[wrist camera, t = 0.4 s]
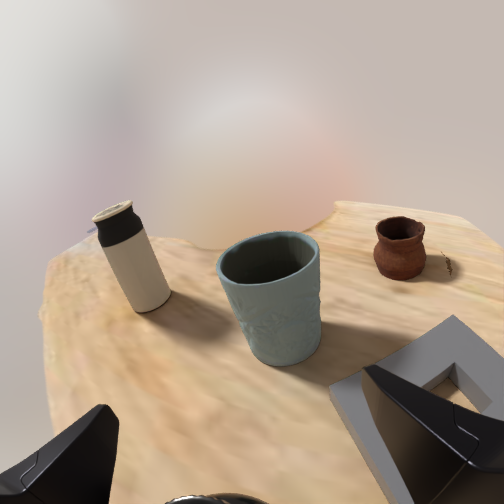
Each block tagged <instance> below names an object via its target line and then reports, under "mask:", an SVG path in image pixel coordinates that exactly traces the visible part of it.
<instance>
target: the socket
mask: <svg viewBox="0 0 504 504" xmlns="http://www.w3.org/2000/svg"><path fill="white" fill-rule="evenodd" d="M375 364H376V365H378V366H380V367H382V368H384V369H386V370H388V371H390V372H392V373H393V374H395V375H397V376H399V377H401V378H403V379H405V380H407V381H409V382H411V383H413V384H415V385H417V386H419V387H421V388H424V389H426V390H428V391H430V390H432V389H433V388H434V387H436V386H437V385H438V384H440V383H441V382H442V381H444V380H445V379H446V378H447V377H449V378H450V380H451V381H452V382H453V383H454V384H455V385H456V386H457V387H458V388H459V389H460V390H461V392H462V393H463V394H464V395H465V396H466V397H467V398H468V399H469V400H470V402H471V403H472V404H473V405H474V406H475V407H476V408H477V410H478V411H479V412H480V413H481V414H482V415H485V416H488V417H492V418H495V419H499V420H503V421H504V358H503V357H501V356H500V355H499V354H498V353H497V352H496V351H495V350H494V349H493V348H492V347H491V346H489V345H488V344H487V343H486V342H485V341H484V340H483V339H482V338H480V337H479V336H478V335H477V334H476V333H475V332H473V331H472V330H471V329H470V328H469V327H468V326H466V325H465V324H464V323H463V322H462V321H460V320H459V319H458V318H457V317H456V316H454V315H451V316H450V317H449V318H447V319H446V320H445V321H443V322H442V323H440V324H439V325H437V326H436V327H434V328H433V329H431V330H430V331H428V332H427V333H425V334H424V335H422V336H421V337H419V338H418V339H416V340H414V341H413V342H411V343H410V344H408V345H406V346H405V347H403V348H401V349H400V350H398V351H396V352H395V353H393V354H391V355H389V356H387V357H386V358H384V359H382V360H380V361H378V362H377V363H375ZM361 379H362V370H361V371H359V372H357V373H355V374H353V375H351V376H349V377H347V378H345V379H343V380H341V381H338V382H336V383H334V384H332V385H330V386H329V390H330V400H331V402H332V403H333V405H334V407H335V409H336V410H337V412H338V414H339V416H340V417H341V419H342V421H343V423H344V425H345V426H346V428H347V430H348V432H349V433H350V435H351V437H352V439H353V440H354V442H355V444H356V446H357V447H358V449H359V451H360V453H361V454H362V456H363V458H364V460H365V461H366V463H367V465H368V467H369V468H370V470H371V472H372V474H373V475H374V477H375V479H376V481H377V482H378V484H379V486H380V488H381V489H382V491H383V493H384V495H385V496H386V498H387V500H388V502H389V503H390V504H414V502H413V500H412V498H411V496H410V493H409V491H408V489H407V487H406V485H405V483H404V481H403V479H402V477H401V475H400V473H399V471H398V469H397V467H396V465H395V463H394V461H393V459H392V457H391V455H390V453H389V451H388V449H387V447H386V445H385V443H384V441H383V440H382V438H381V436H380V434H379V432H378V430H377V428H376V426H375V423H374V421H373V418H372V415H371V412H370V410H369V407H368V404H367V401H366V399H365V396H364V393H363V391H362V387H361Z"/></svg>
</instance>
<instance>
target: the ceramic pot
mask: <svg viewBox="0 0 504 504" xmlns="http://www.w3.org/2000/svg"><path fill="white" fill-rule="evenodd" d="M424 231H425V226H424V225H423V224H422V223H421V222H416V221H415V220H413V219H410V218H406V217H404V216H398V217H391V218H387V219H384V220H382V221H380V222H378V223H377V225H376V232H377V235H378V239H379V242H378V243H377V245H376V246H375V248H374V260H375V262H376V264H377V267H378V270H379V271H380V273H381V274H382V275H383V276H385V277H387V278H389V279H392V280H407V279H410V278H413V277H415V276H417V275H418V274H420V273H421V271H422V269H423V268H424V265H425V261H426V253H425V249H424V245H423V243H422V240H423V235H424ZM442 254H443V253H442ZM443 255H444V254H443ZM444 256H445V255H444ZM446 258H447V257H446ZM447 260H448V261H447ZM447 260H446V263H447V264H448V265H447V266H448V268H447V269H449V270H450V271H449V272H450V275H451V271H452V270H453V269H451V266H450V265H451V264H450V260H449V258H447Z"/></svg>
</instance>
